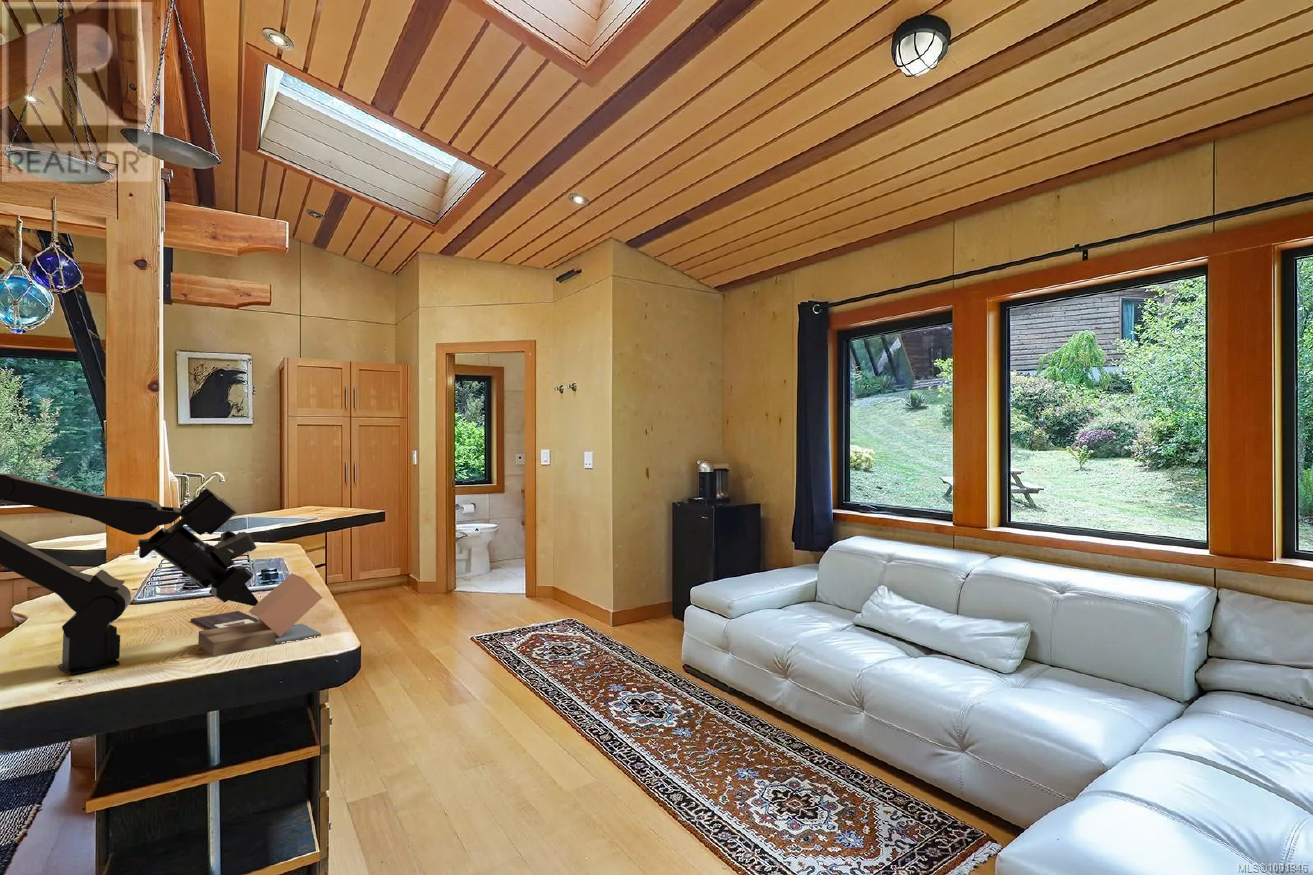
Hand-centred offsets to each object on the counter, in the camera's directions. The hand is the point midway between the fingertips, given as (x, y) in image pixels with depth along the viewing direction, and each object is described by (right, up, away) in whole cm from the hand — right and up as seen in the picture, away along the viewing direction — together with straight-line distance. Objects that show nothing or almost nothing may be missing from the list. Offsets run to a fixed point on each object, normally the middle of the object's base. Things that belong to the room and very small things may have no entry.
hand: (256, 603), depth 124 cm
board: (-2, -7, -2) cm, 8 cm away
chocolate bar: (-12, -8, +11) cm, 18 cm away
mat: (+4, -7, +5) cm, 10 cm away
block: (+1, -4, +1) cm, 5 cm away
